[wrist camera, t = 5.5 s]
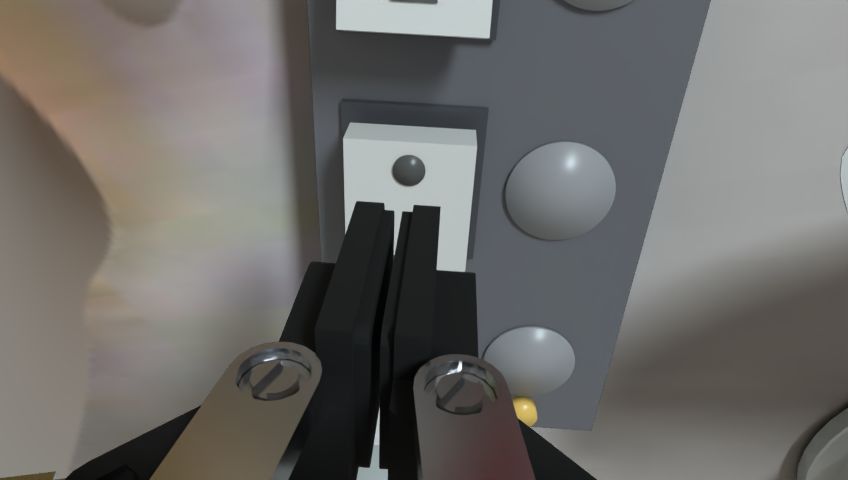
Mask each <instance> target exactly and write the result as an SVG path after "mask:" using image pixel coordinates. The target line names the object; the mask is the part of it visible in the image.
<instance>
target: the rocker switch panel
mask: <svg viewBox="0 0 848 480" xmlns="http://www.w3.org/2000/svg"><path fill="white" fill-rule="evenodd" d="M710 1H711V0H493V2H492V14H491V26H490V38H488V39H475V38H458V37H440V36H423V35H405V34H388V33H370V32H353V31H342V30H336V0H307V6H308V25H309V43H310V62H311V81H312V100H313V118H314V137H315V156H316V175H317V194H318V212H319V231H320V250H321V262H326V263H336V262H337V259H338V256H339V253H340V250H341V246H342V243H343V240H344V237H345V199H344V156H343V137H344V135H345V133H346V131H347V128H348V126H349V124H350V122H351V123H368V124H385V125H401V126H418V127H435V128H452V129H469V130H476V137H477V154H476V164H475V175H474V185H473V196H472V206H471V216H470V227H469V237H468V247H467V258H466V268H465V272H473V273H475V274H476V298H477V327H478V357H479V358H480V359H483V360H484V361H486V362H488V363H490V364H491V365H493V366H494V367H495V368H496V369H497V370H498V371H499V372H500V373H501V374H502V375H503V377H504V379H505V380H506V382H507V384H508V388H509V391H510V394H511V398H512V401H513V405H514V408H515V411H516V415H517V418H518V419H520V420H521V421H522V422H523V423H525V424H526V425H527V426H529V427H543V428H558V429H573V430H588V431H591V430H592V426H593V422H594V419H595V415H596V412H597V408H598V404H599V401H600V397H601V394H602V390H603V386H604V383H605V379H606V376H607V372H608V368H609V365H610V361H611V358H612V354H613V350H614V347H615V343H616V340H617V336H618V332H619V329H620V325H621V322H622V318H623V314H624V311H625V307H626V304H627V300H628V296H629V293H630V289H631V286H632V282H633V278H634V275H635V271H636V268H637V264H638V260H639V257H640V253H641V250H642V246H643V243H644V239H645V235H646V232H647V228H648V225H649V221H650V217H651V214H652V210H653V207H654V203H655V199H656V196H657V192H658V189H659V185H660V181H661V178H662V174H663V171H664V167H665V163H666V160H667V156H668V153H669V149H670V145H671V142H672V138H673V135H674V131H675V127H676V124H677V120H678V117H679V113H680V109H681V106H682V102H683V99H684V95H685V91H686V88H687V84H688V81H689V77H690V73H691V70H692V66H693V63H694V59H695V55H696V52H697V48H698V45H699V41H700V37H701V34H702V30H703V27H704V23H705V19H706V16H707V12H708V9H709V5H710Z"/></svg>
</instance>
